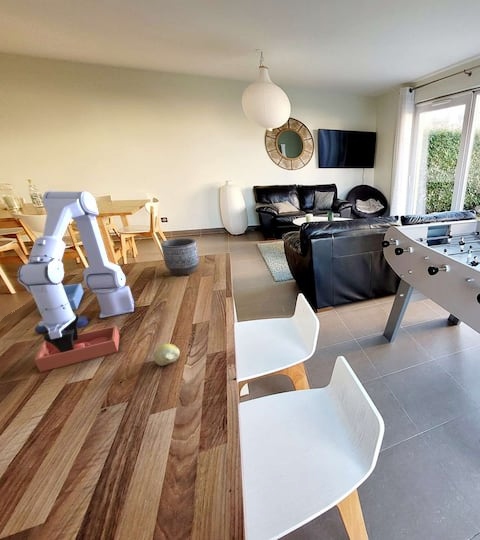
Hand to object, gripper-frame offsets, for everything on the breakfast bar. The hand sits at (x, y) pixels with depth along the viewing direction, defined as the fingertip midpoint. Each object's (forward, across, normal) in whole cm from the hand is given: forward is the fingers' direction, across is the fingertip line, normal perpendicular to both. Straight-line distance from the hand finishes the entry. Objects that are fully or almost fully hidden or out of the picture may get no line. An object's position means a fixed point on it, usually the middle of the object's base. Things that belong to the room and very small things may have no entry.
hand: (70, 346), depth 82 cm
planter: (+3, -54, +33) cm, 63 cm away
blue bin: (+3, -40, -8) cm, 41 cm away
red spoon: (+2, 0, +2) cm, 3 cm away
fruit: (+3, +16, +22) cm, 27 cm away
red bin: (+3, 0, +2) cm, 4 cm away
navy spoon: (+3, -19, -5) cm, 20 cm away
